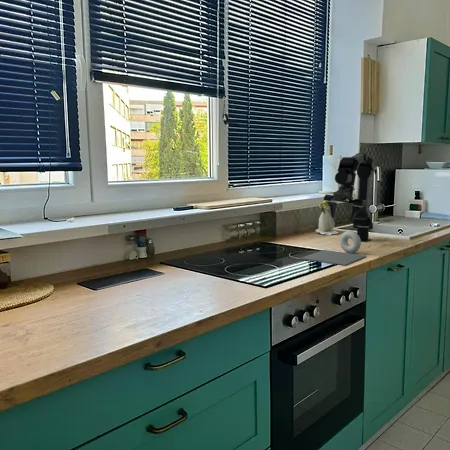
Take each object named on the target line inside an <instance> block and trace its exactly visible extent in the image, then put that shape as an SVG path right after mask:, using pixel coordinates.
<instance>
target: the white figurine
mask: <svg viewBox="0 0 450 450" xmlns="http://www.w3.org/2000/svg"><path fill="white" fill-rule="evenodd" d="M337 206H338V205H337ZM337 206H336V208H337ZM318 208H319V209H320V211H321V213H320V216H319V218H318V228H317V229H315V232H316V233H317V234H318V233H319V234H321V235H326V236H332V235H336V234H340V232H339V231H336V229H334V228H335V226H336V221H335V220H334V218H333V217H332V215H331V209H330V206H329V204H328V203H326V200H323V201H321V202H320V203H319V204H318Z"/></svg>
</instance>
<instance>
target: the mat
mask: <svg viewBox="0 0 450 450" xmlns="http://www.w3.org/2000/svg"><path fill="white" fill-rule="evenodd" d="M365 258H367V255H363V254H357V253H348V252H345V251H344V252H343V251H336V250H330V249H329V250H328V249H323V250H319V251H317V252H314V253H311V254H308V255H305V256H302V257H300V259H301V260H307V261H312V262H317V261H318V262H317V263H324V262H326V263H325V264H330V263H333V264H332V265H336V264H337V266H343V267H346V266H349V265H351V264H353V263H356V262H358V261H360V260H362V259H365Z"/></svg>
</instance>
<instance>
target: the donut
mask: <svg viewBox="0 0 450 450" xmlns="http://www.w3.org/2000/svg"><path fill="white" fill-rule="evenodd" d="M349 239H351V241H352V244H351V245H350V244H349V242H348V240H349ZM361 244H362V241H361V239H360V237H359V235H358V234H357V232H356V231H353V230H346V231H344V232H343V233H341V235H340V237H339V245H340V248H341V250H343V251H344V252H345V253H351V254H355V253H356V252H358V251H359V249H360V248H361V246H362V245H361Z"/></svg>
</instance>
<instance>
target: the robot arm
mask: <svg viewBox="0 0 450 450" xmlns="http://www.w3.org/2000/svg"><path fill="white" fill-rule="evenodd" d="M375 169H376V165H375V162H374V159H372V158H371V157H370V156H369V154H368V153H366V152H358V153H355V154H354V155H352V156H350V157H349V156H346V157H345V156H344V157H342V158H341V160H340V161H339V164H338V167H337V170H336V171H337V172H336V173H335V176H334V180H335V183H337V184H338V185H340V186H339V187H338V189H337V190H336V191H334V192H333V193H332V194H325V195H324V196H323V201H326V203H328V204H329V206H330V209H331V211H330V215H331V217H332V218H333V219H334V218H335V214H336V211H337V210H336V209H337V207H336V206H338V205H337V204H338V202H339V203H340V202H342V203H347V204H353V205H352V206H351V207H352V210H351V215H350V222H352V229H356V233H357V234H358V235H359V237H360V239H361V242H369V241H371V240H372V238H369V234H370V233H369V231H370V230H373V229H374V224H373V220H372V219H373V218H372V217H371V215H372V214H371V212H370V210H369V209H368V206H369V205H368V204H369V193H370V192H369V190H370V179H371V178H372V177H373V176H374V171H375ZM356 176H358V179H359V186H358V188H359V189H358V198H354V197H353V193H354V191H355V189H356V188H355V183H356Z"/></svg>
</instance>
